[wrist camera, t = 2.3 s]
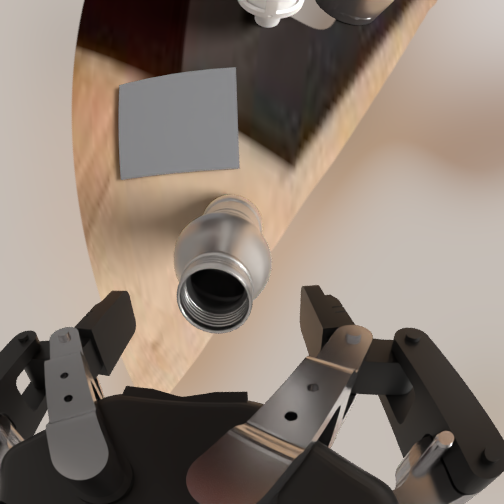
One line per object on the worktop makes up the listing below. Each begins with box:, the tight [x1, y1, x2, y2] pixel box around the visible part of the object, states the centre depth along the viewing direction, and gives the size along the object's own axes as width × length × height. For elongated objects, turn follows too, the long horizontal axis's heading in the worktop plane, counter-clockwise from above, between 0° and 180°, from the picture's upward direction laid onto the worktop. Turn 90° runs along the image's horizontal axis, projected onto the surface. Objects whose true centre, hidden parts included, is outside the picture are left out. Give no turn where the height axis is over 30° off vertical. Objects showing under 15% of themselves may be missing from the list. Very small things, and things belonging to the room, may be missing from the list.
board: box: [119, 67, 240, 180], centre depth 27 cm, size 12×14×1 cm
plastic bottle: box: [174, 194, 272, 334], centre depth 22 cm, size 6×7×20 cm
